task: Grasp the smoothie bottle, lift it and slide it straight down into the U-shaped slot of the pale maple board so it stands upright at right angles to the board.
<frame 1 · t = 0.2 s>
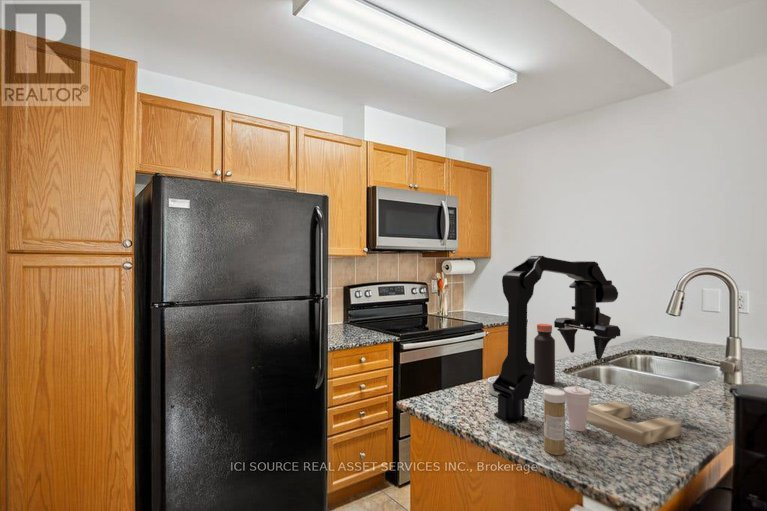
hand: (585, 355, 120), 14 cm above the worktop, fingers open, 9 cm apart
vinegar: (544, 382, 141), on the worktop
smoothie: (577, 429, 102), on the worktop
ramekin: (501, 394, 129), on the worktop
slot board: (628, 426, 103), on the worktop
sprinkles bottle: (554, 452, 90), on the worktop
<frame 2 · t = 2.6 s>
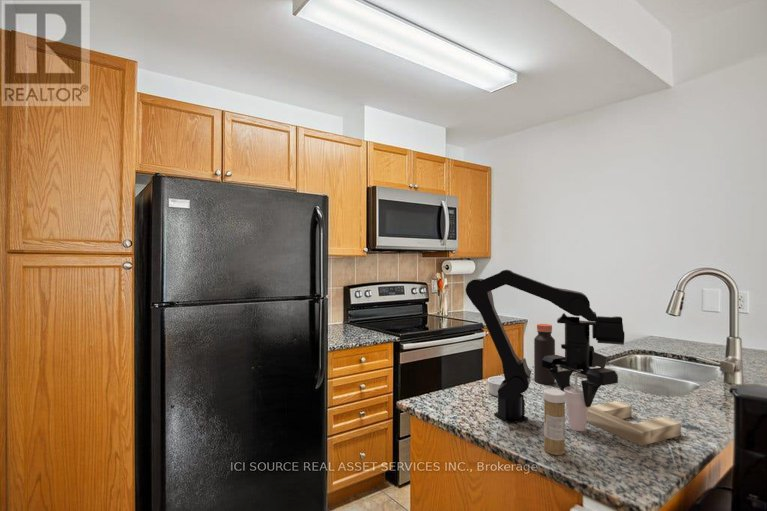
hand: (577, 402, 103), 7 cm above the worktop, fingers closed on smoothie, 6 cm apart
smoothie: (577, 429, 102), on the worktop, touching gripper
everything else where it was.
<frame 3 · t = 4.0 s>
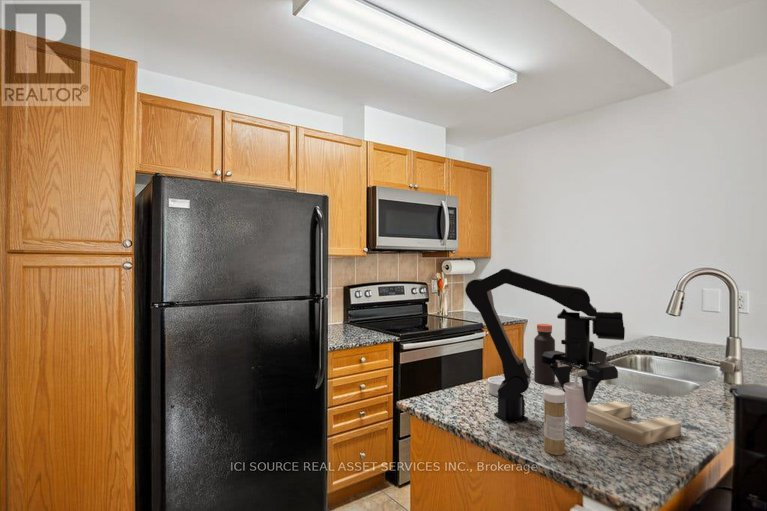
hand: (577, 398, 103), 8 cm above the worktop, fingers closed on smoothie, 6 cm apart
smoothie: (576, 424, 103), point 1 cm above the worktop, touching gripper
everything else where it was.
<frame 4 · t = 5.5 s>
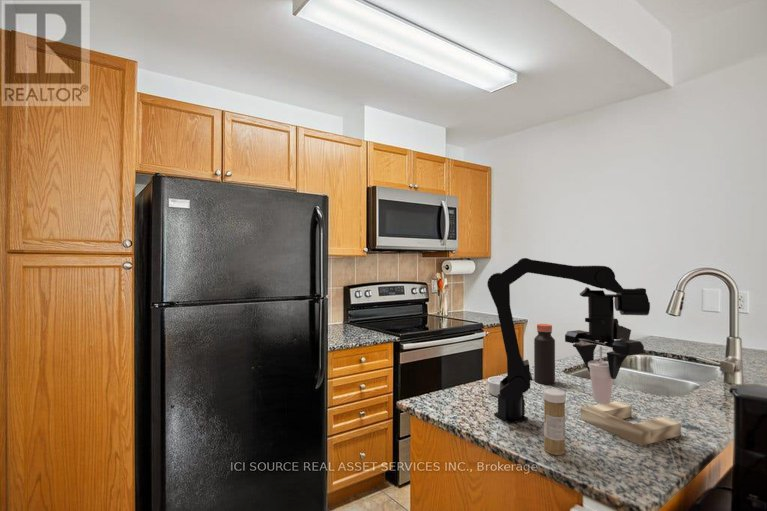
hand: (602, 375, 103), 13 cm above the worktop, fingers closed on smoothie, 6 cm apart
smoothie: (601, 401, 103), point 7 cm above the worktop, touching gripper
everything else where it was.
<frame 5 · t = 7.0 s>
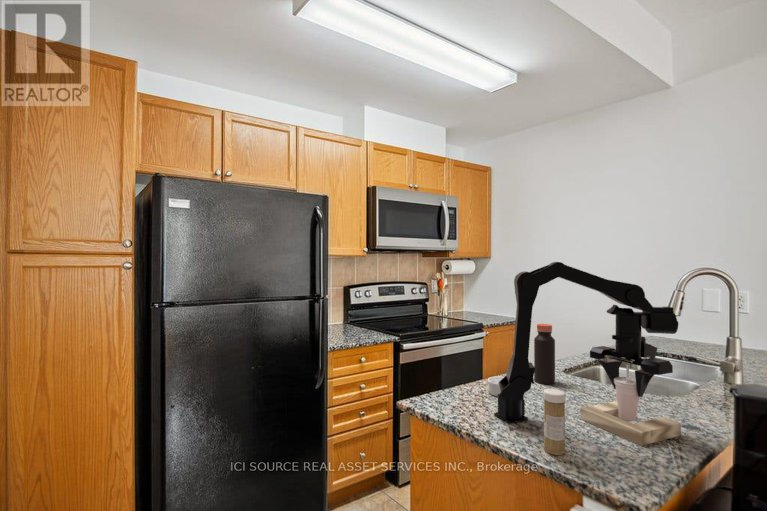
hand: (628, 392, 104), 9 cm above the worktop, fingers closed on smoothie, 6 cm apart
smoothie: (627, 418, 104), point 2 cm above the worktop, touching gripper
everything else where it was.
when the fingers open (8 cm above the worktop, at t = 8.1 s): smoothie drops 1 cm, resting in slot board.
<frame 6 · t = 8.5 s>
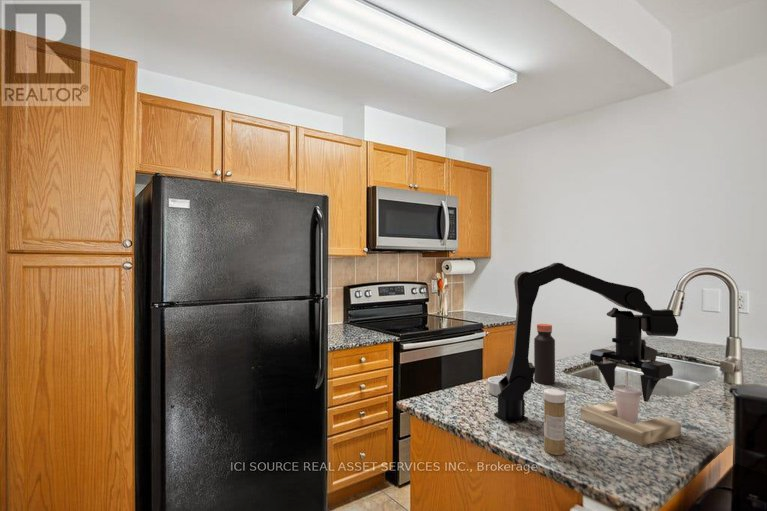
hand: (628, 395, 104), 8 cm above the worktop, fingers open, 9 cm apart
smoothie: (627, 427, 104), resting in slot board
everything else where it was.
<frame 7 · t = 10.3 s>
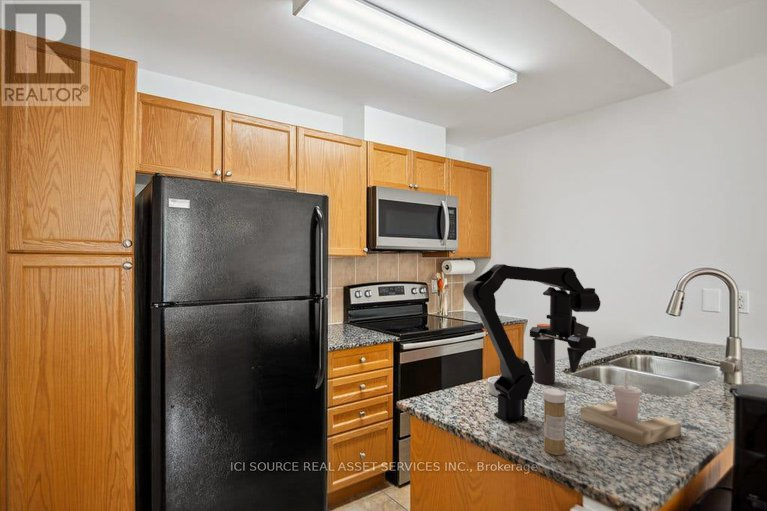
hand: (560, 368, 112), 13 cm above the worktop, fingers open, 9 cm apart
nothing on the worktop moved.
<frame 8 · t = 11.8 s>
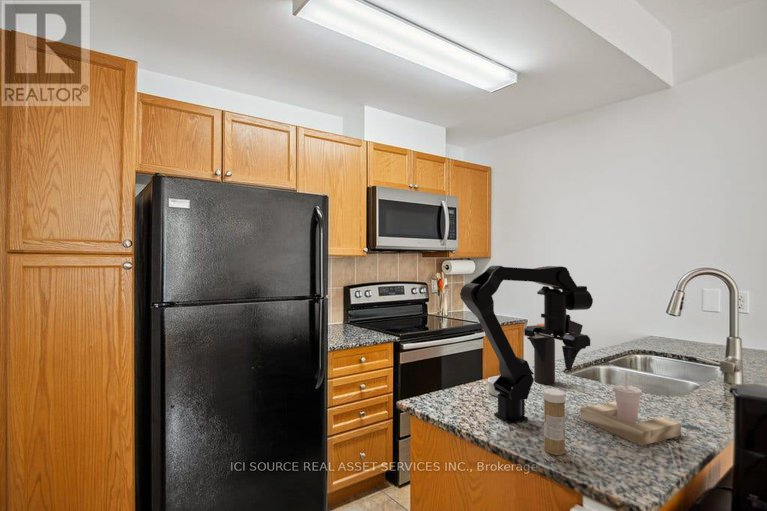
hand: (555, 366, 113), 13 cm above the worktop, fingers open, 9 cm apart
nothing on the worktop moved.
at the end: smoothie 0.9 cm off-centre on the slot board, point 0.0 cm above the slot board's base; smoothie tilted 0°; the gripper is holding nothing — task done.
